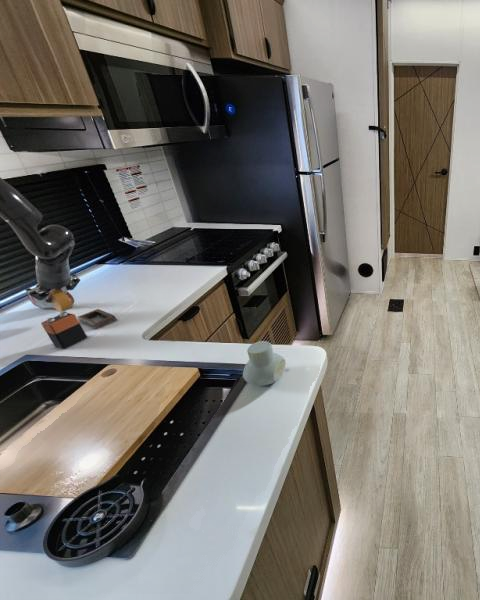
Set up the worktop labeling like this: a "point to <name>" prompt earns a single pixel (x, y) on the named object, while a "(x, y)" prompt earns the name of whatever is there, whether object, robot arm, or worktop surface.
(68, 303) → the tape roll
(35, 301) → the tin
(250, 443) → the worktop surface
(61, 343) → the battery
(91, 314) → the tape holder
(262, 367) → the air freshener
